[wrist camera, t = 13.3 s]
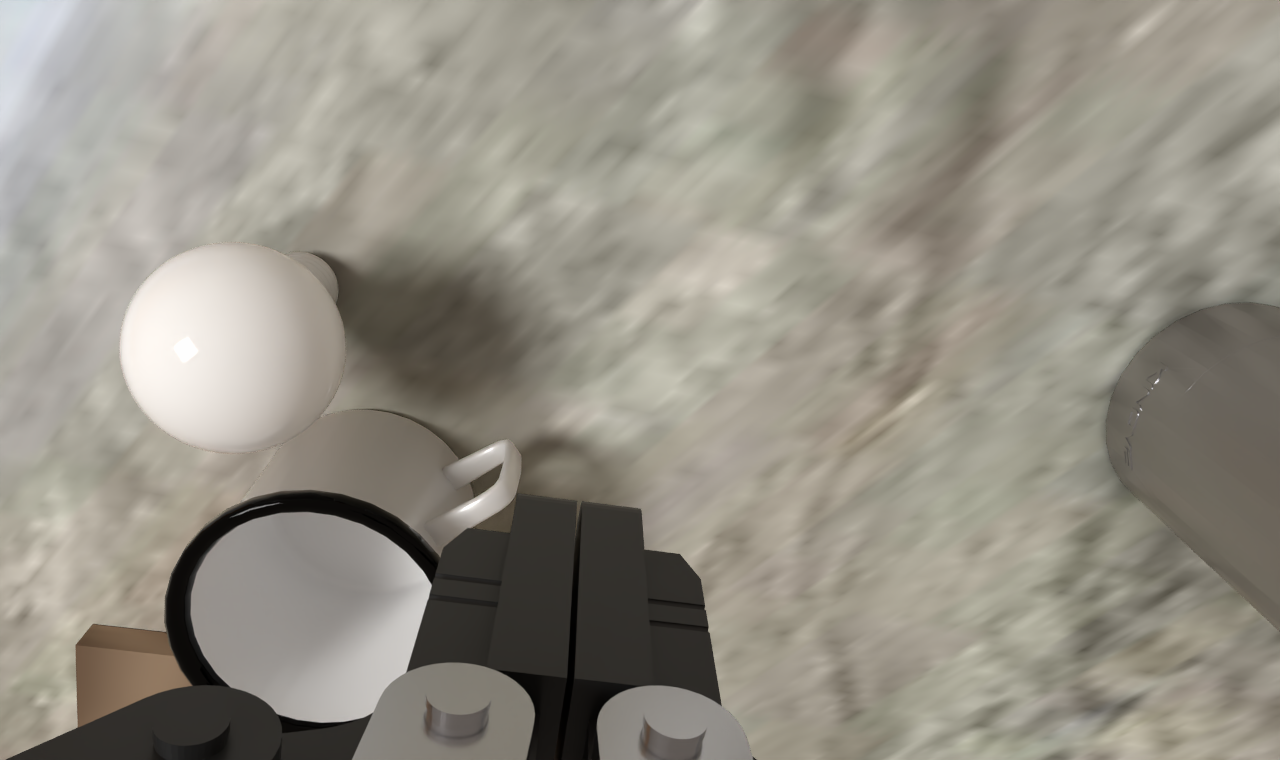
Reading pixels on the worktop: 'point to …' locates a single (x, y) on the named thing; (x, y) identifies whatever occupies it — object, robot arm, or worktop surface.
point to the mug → (328, 565)
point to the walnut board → (122, 669)
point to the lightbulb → (234, 346)
